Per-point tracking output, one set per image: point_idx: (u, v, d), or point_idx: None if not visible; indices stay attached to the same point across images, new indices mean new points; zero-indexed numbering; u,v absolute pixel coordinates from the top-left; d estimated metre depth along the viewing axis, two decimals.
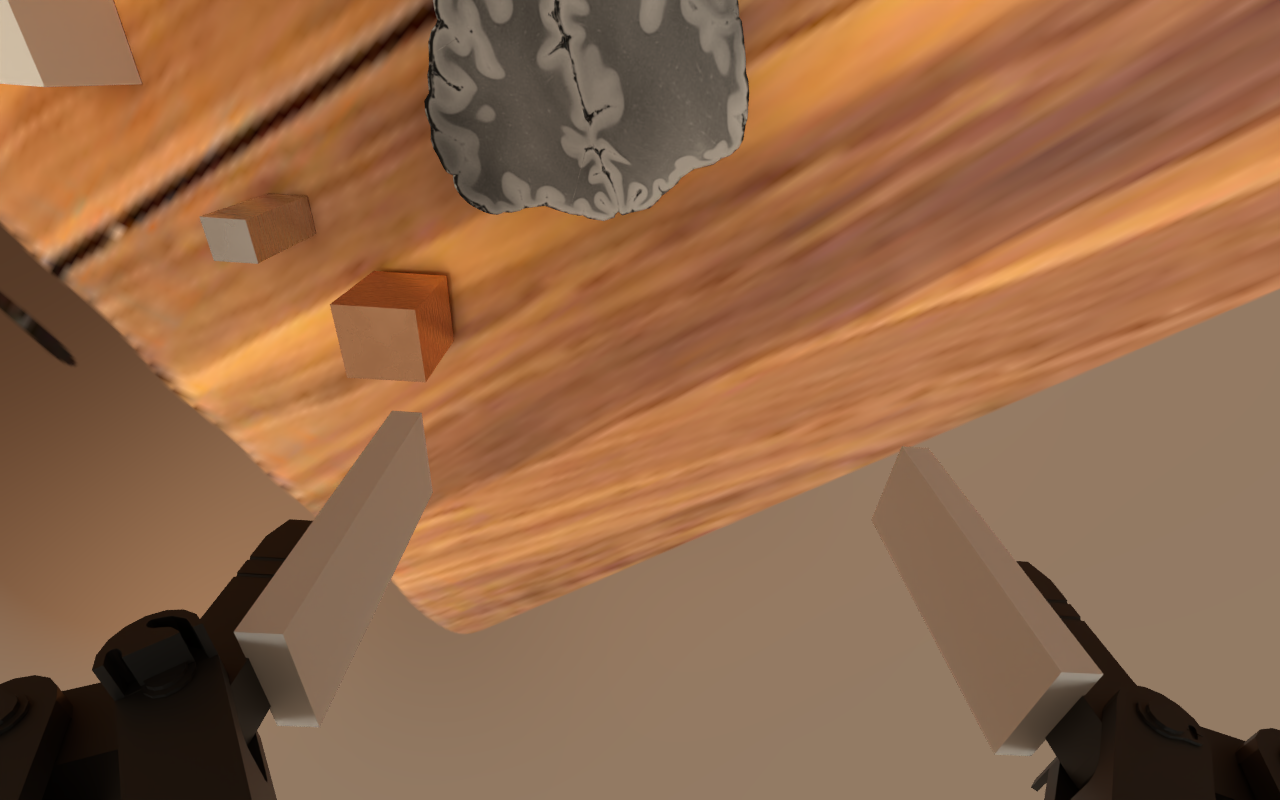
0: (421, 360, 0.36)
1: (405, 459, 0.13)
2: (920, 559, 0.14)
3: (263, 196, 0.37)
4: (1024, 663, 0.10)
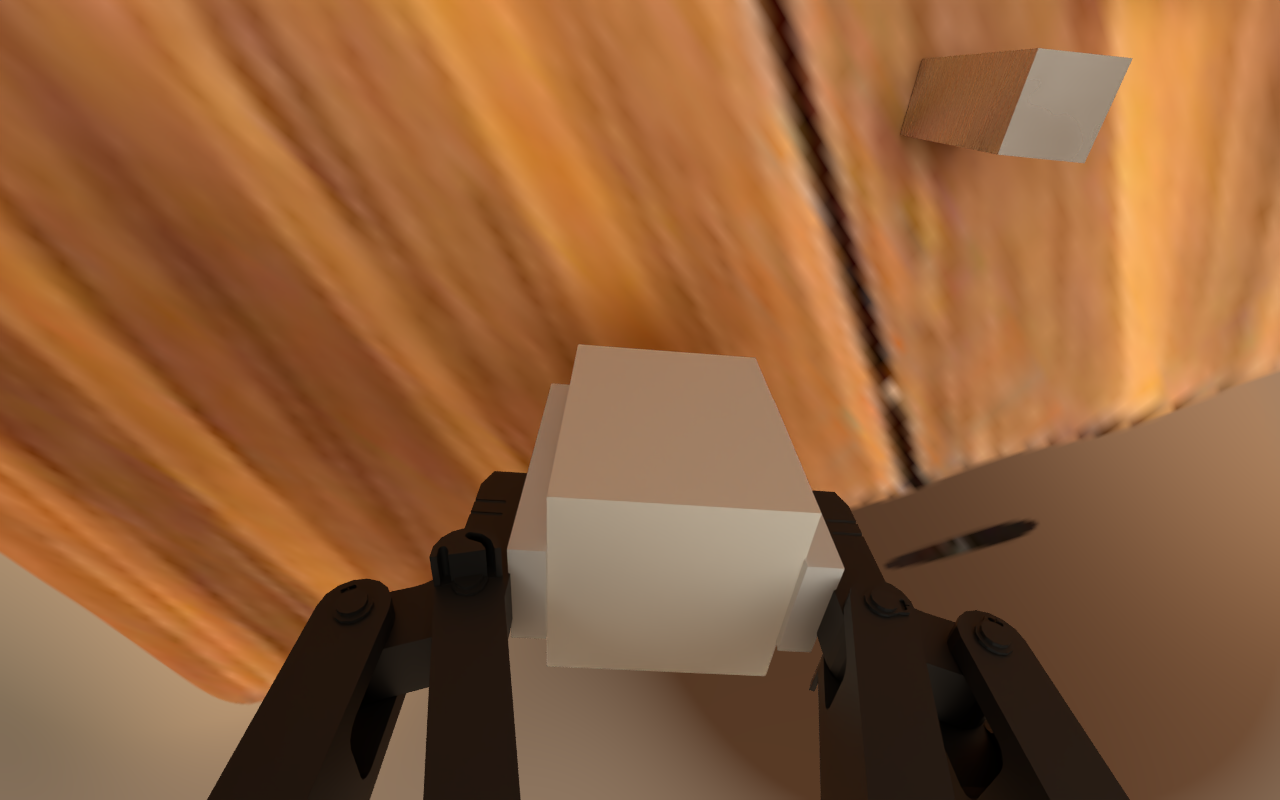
0: None
1: None
2: None
3: (912, 130, 0.21)
4: None
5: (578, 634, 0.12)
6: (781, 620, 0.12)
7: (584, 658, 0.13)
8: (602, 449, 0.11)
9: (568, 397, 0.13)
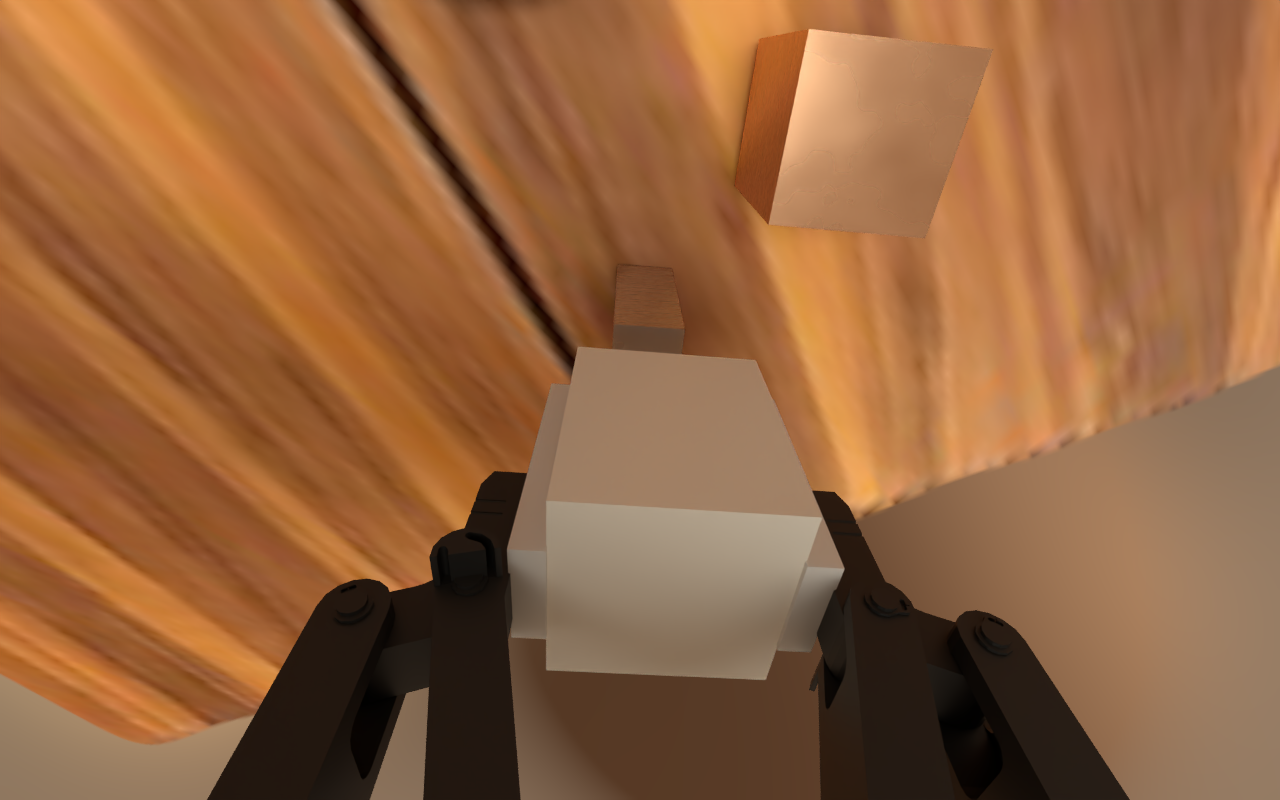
0: (934, 46, 0.15)
1: None
2: None
3: None
4: None
5: (578, 638, 0.12)
6: (781, 624, 0.12)
7: (584, 662, 0.13)
8: (602, 453, 0.11)
9: (568, 400, 0.13)
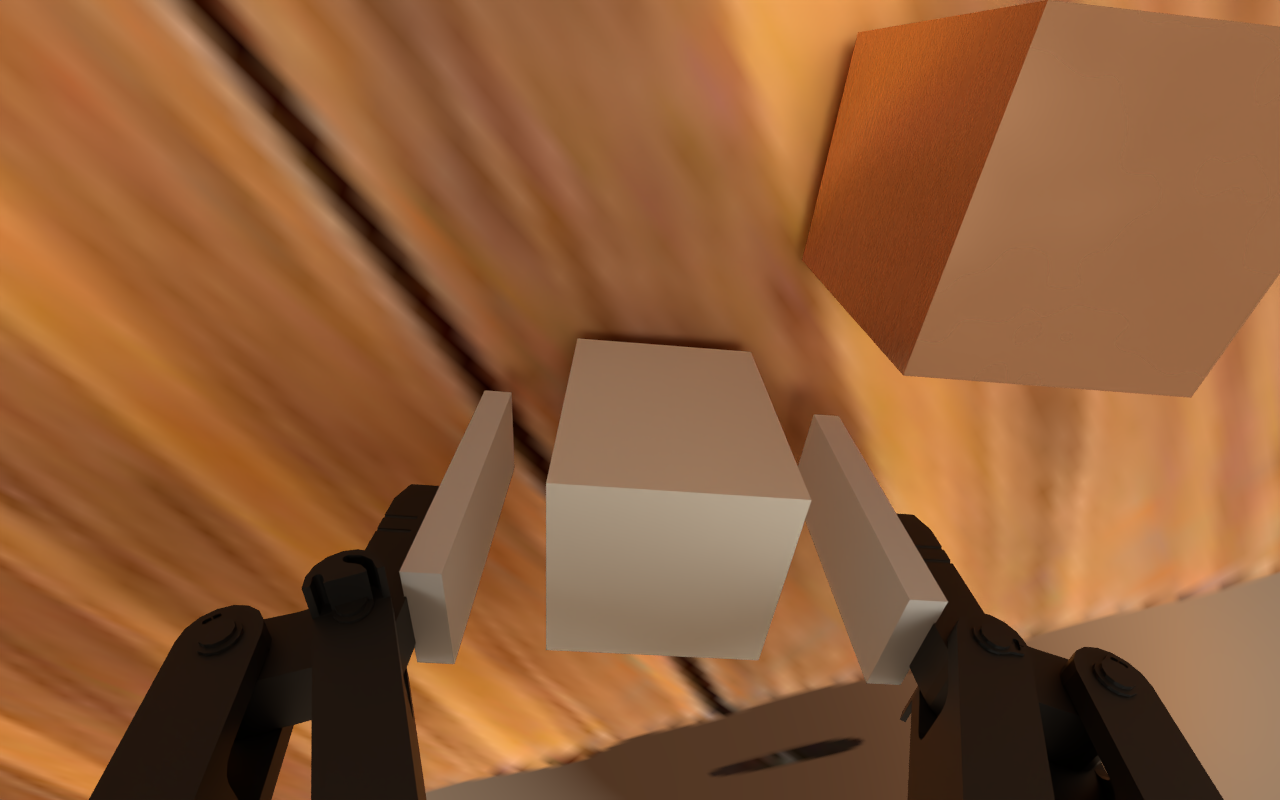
0: None
1: (502, 434, 0.15)
2: (823, 516, 0.15)
3: None
4: (887, 597, 0.11)
5: (576, 618, 0.13)
6: (773, 605, 0.12)
7: (583, 642, 0.13)
8: (600, 438, 0.12)
9: (567, 389, 0.14)
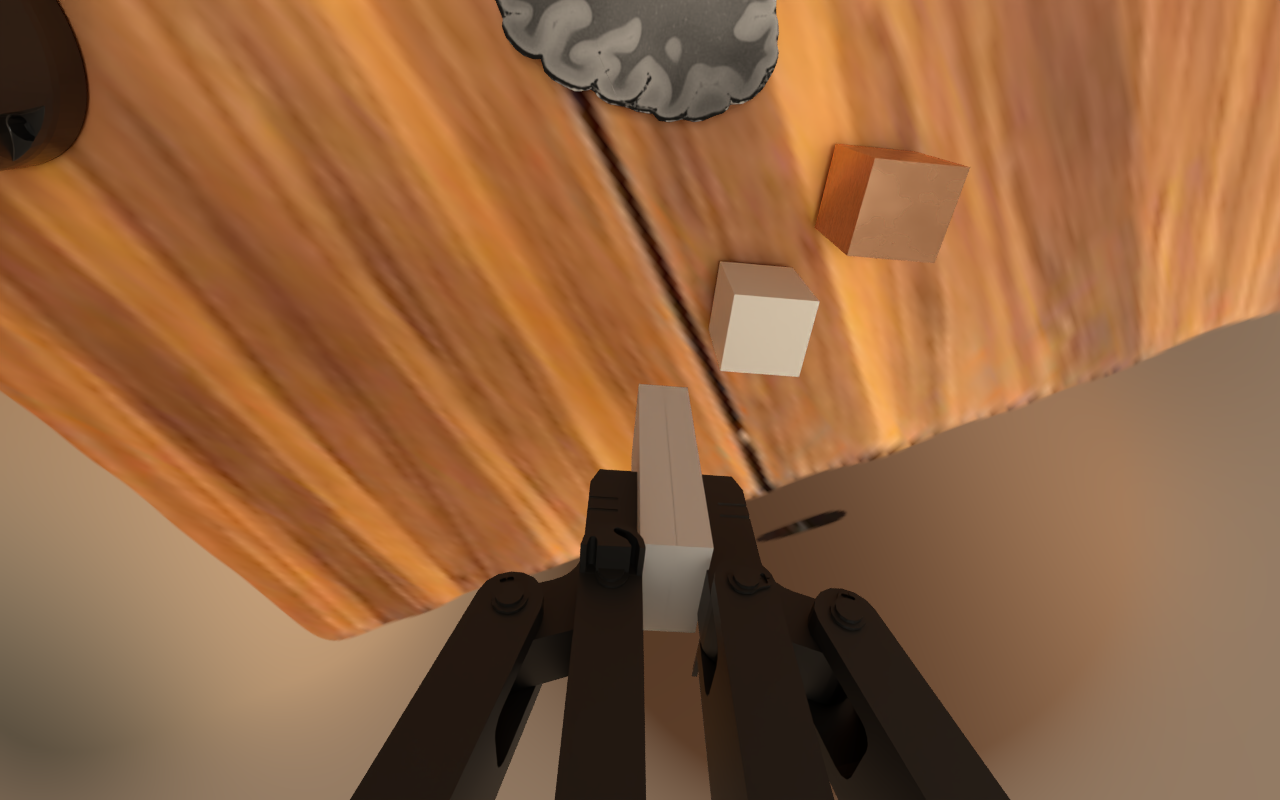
0: (939, 165, 0.29)
1: None
2: None
3: None
4: None
5: (734, 354, 0.35)
6: (805, 348, 0.34)
7: (734, 367, 0.35)
8: (745, 286, 0.34)
9: (726, 275, 0.36)
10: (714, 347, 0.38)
